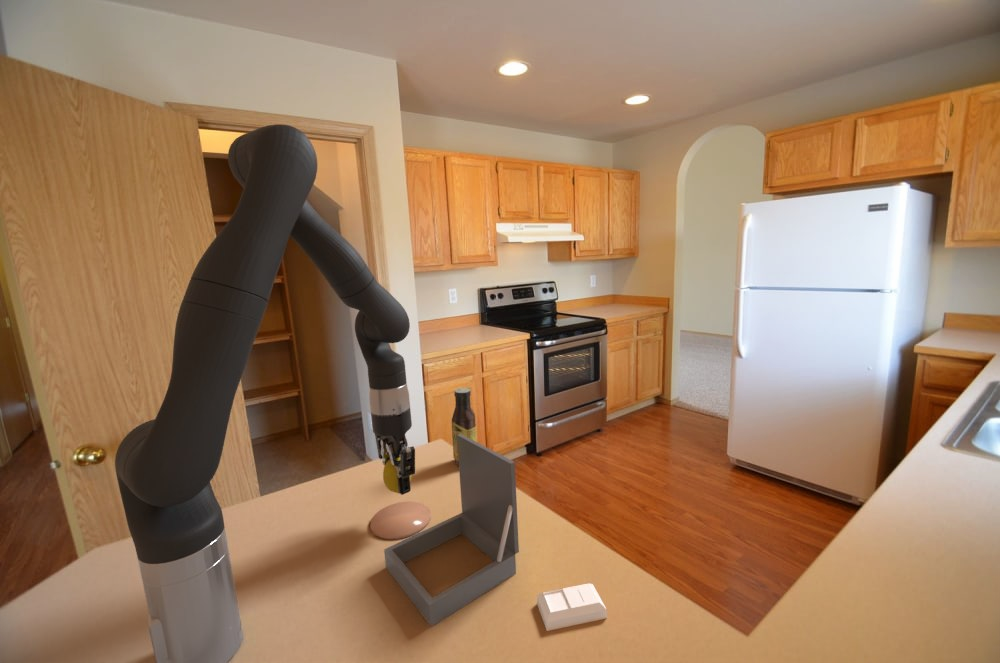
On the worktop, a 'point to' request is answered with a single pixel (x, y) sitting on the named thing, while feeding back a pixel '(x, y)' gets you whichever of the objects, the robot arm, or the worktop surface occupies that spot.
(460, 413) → the sauce bottle
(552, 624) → the white rocker switch
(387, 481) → the lemon
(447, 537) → the case
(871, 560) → the worktop surface
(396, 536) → the saucer
